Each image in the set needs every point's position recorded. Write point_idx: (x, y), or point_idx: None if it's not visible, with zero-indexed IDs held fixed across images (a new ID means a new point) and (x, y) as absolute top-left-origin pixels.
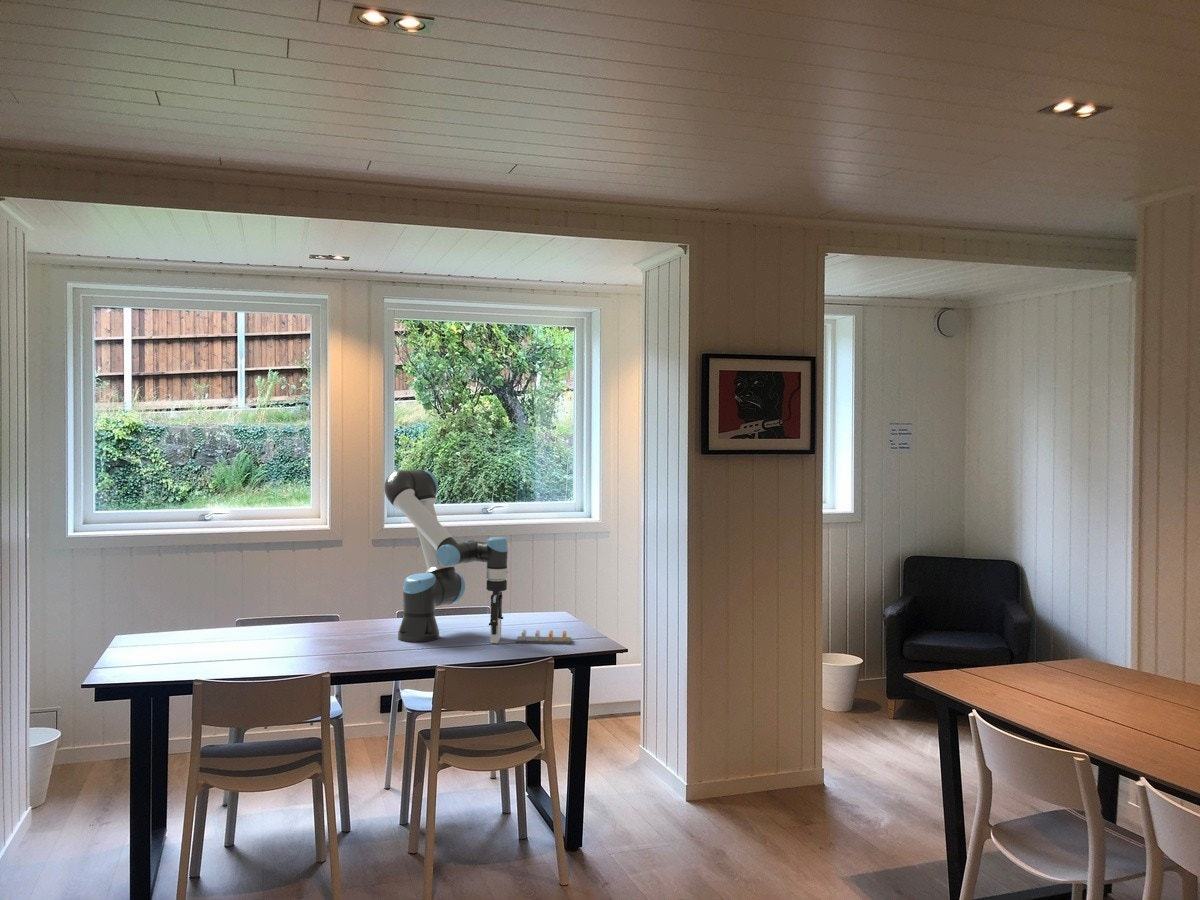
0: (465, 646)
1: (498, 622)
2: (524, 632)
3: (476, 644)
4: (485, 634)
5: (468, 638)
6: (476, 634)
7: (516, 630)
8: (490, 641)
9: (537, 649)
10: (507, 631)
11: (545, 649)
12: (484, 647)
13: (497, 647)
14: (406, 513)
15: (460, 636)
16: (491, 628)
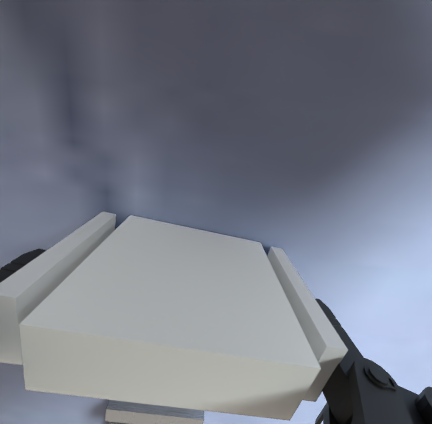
0: (14, 5)
1: (80, 388)
2: (131, 420)
3: (96, 114)
4: (390, 208)
5: (308, 72)
6: (416, 151)
7: (413, 354)
8: (97, 215)
9: (9, 388)
10: (411, 320)
11: (15, 410)
12: (5, 161)
13: (20, 239)
14: None
15: (403, 4)
16: (21, 275)
